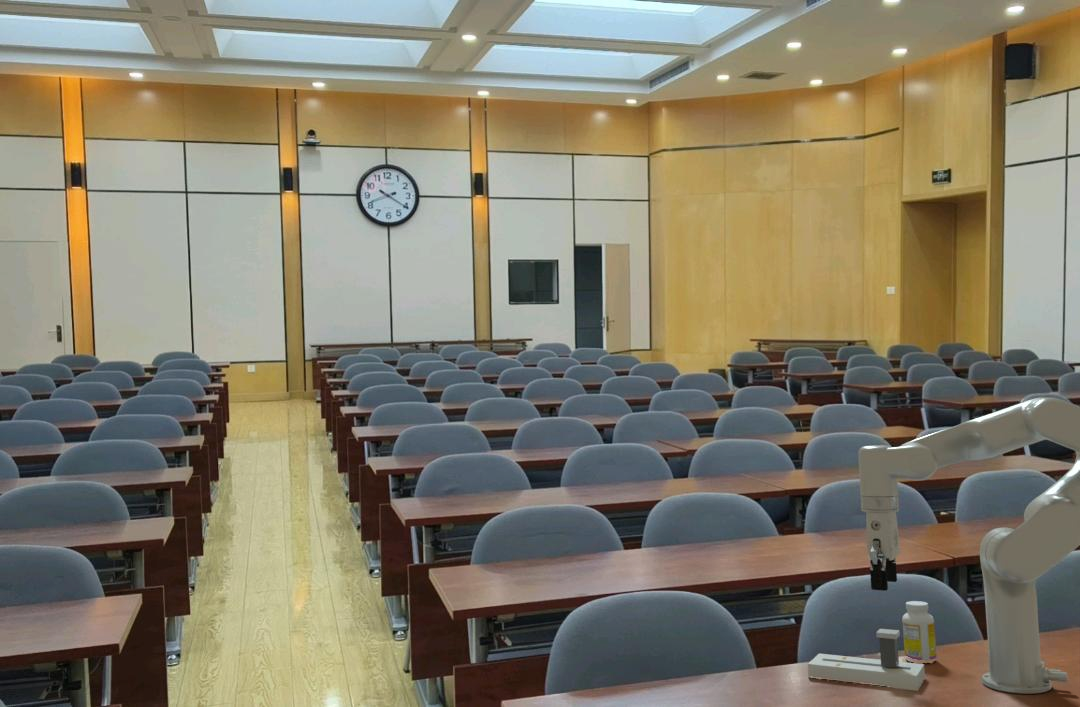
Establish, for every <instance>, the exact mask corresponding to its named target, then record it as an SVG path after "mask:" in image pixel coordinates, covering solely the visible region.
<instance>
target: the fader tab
mask: <svg viewBox="0 0 1080 707" xmlns="http://www.w3.org/2000/svg"><path fill="white" fill-rule="evenodd" d="M900 634H901V632H900V630H899V629H888V628H887V629H886V628H879V629H878V630H877V631H876V634H875V635H876V638H879V652H880V660H881V666H883V667H892V668H896V667H897V666H898V665H899V662H900V660H899V659H900V658H899V645H898V643H899V642H898V638H900V636H901V635H900Z"/></svg>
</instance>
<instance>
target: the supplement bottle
mask: <svg viewBox="0 0 1080 707" xmlns="http://www.w3.org/2000/svg"><path fill="white" fill-rule="evenodd" d="M905 609H906V610H907V611H906V612H905V613H904V614H903V616H902V620H901V622H902V632H903V634H902V635H903V647H904V649H903V650H904V656H905V655H906V656H908V657H910V658H912V659H917V660H926V661H928V660H934V659H936V658H937V656H938V654H937V645H936V644H937V642H936V641H937V640H936V632H935V631H936V630H935V619H934V617H933V615H931V614H930V613H929V611H928V610H929V603H928V602H926V601H920V600H919V601H918V600H911V601H907V602H905ZM937 659H938V658H937Z"/></svg>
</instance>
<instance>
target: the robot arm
mask: <svg viewBox="0 0 1080 707" xmlns="http://www.w3.org/2000/svg"><path fill="white" fill-rule="evenodd" d="M1045 440H1047V441H1049V442H1052V443H1055V444H1057V445H1060V446H1063V447H1064V448H1067V449H1070V450H1073V451H1074V452H1075V454H1076V457H1075V461H1074V463H1073V465H1072V466H1071V468H1070V469H1069V470H1068V471H1067V472H1066V473H1065V474H1063V476H1062V477H1060V478H1059V479H1058V480H1057V481H1056V482H1055V483H1054V484H1052V485H1051V486H1050V487H1049V488H1048V489H1046V490H1045V491H1044V492H1042V493H1041V494H1040V495H1038V496H1037V497H1035V498H1034V499H1033V500H1032V501H1030V503H1029V504H1028V505H1027V506H1026V508H1025V510H1024V513H1023V520H1024V521H1023V522H1022V523H1021V524H1020V525H1019V526H1017V527H1016V528H1015V529H1014V528H1012V527H1006V526H1004V527H997V528H993V529H991V530H990V531H988V532H987V533H986V534H985V535H984V536H983V538H982V539H981V543H980V546H979V560H980V567H981V572H982V574H981V575H982V580H983V589H984V604H985V619H986V633H987V635H986V636H987V646H988V648H987V649H988V650H987V651H988V662H989V671H988V672H986V673H984V674H983V675H982V676H981V682H982V683H983V685H984V686H986V687H988V688H991V689H992V690H993V689H994V690H996V691H1001V692H1006V693H1013V694H1021V695H1022V694H1023V695H1025V694H1026V695H1032V694H1034V695H1035V694H1043V693H1046V692H1048V691H1050V690H1051V689H1052V681H1053V682H1057V683H1058V682H1059V683H1068V682H1069V680H1068V678H1069V677H1068V672H1064V671H1062V670H1060V669H1049V668H1048V667H1047V666H1045V662H1044V661H1043V660H1042V659H1041V658H1042V657H1041V655H1042V654H1041V644H1040V643H1041V642H1040V641H1041V640H1040V629H1039V628H1040V627H1039V613H1038V598H1037V588H1036V581H1035V580H1037V579H1039V578H1040V577H1041V576H1043V575H1044V574H1046V573H1047V572H1048V571H1049V570H1051V569H1052V568H1053V567H1055V566H1056V565H1058V563H1060V562H1061V561H1062V560H1063V559H1065V558H1066V557H1067V556H1069V554H1071V553H1072V552H1074V551H1075V550H1076V549H1077V548H1078V547H1079V546H1080V405H1077V404H1074V403H1073V402H1072V403H1071V402H1069V401H1066V400H1065V399H1061V398H1057V397H1036V398H1032V399H1029V400H1025V401H1023V402H1020V403H1016V404H1014V405H1011V406H1009V407H1005V408H1002V409H1000V410H997V411H994V412H992V413H988V414H985V415H982V416H980V417H976V418H974V419H970V420H966V421H965V422H962V423H959V424H957V425H954V426H951V427H948V428H945V429H942V430H939V431H936V432H933V433H931V434H927V435H924V436H922V437H919V438H915V439H913V440H910V441H907V442H905V443H903V444H901V445H900V446H893V447H892V446H891V445H883V444H879V445H878V444H877V445H876V444H874V445H872V444H871V445H863V446H861V447H860V448H859V450H858V456H857V457H858V471H859V488H860V492H859V494H860V508H861V510H860V511H862V512H864V513H866V515H865V516H866V519H865V520H866V521H865V523H866V527H865V529H866V547H867V548H866V549H867V557H868V558H869V559H870V564H869V566H870V567H869V569H870V570H869V571H870V586H871V587H870V589H871V590H873V591H883V592H885V591H887V590H888V588H889V586H888V582H890V583H896V582H897V581H898V576H897V575H898V573H897V562H896V557H898V556H899V555H900V554H901V547H900V538H899V536H900V535H899V526H898V519H897V518H898V517H897V513H899V511H900V507H899V506H900V505H899V488H898V480H910V481H925V480H927V479H929V478H931V477H932V476H933V475H934V474H935V473H936V471H937V469H940V468H943V467H947V466H950V465H953V464H958V463H962V462H967V461H968V462H969V461H980V460H981V461H982V460H986V459H991V458H994V457H995V458H996V457H998V456H1000V455H1004V454H1006V453H1009V452H1012V451H1014V450H1018V449H1021V448H1023V447H1024V448H1025V447H1027V446H1030V445H1034V444H1036V443H1039V442H1042V441H1045Z"/></svg>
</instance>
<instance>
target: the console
mask: <svg viewBox="0 0 1080 707" xmlns="http://www.w3.org/2000/svg"><path fill="white" fill-rule="evenodd" d="M807 671H808V677H809V676H813V677H821V678H829V679H838V680H845V681H855V682H864V683H872V684H878V685H884V686H890V687H894V688H893V689H899V690H906V691H907V690H909V691H914V692H915V691H917V692H918V691H919V690H920V688H921V686H922V685H923V683H924V681H925V680H924V678H925V679H926V674H925V673H926V672H925V671H926V670H925V664H917V663H911V662H908V661H907V662H905V661H899V665H898V666H897V667H896V668H892V667H883V666H881V659H878V658H877V659H876V658H866V657H855V656H849V655H847V656H845V655H839V654H838V655H837V654H828V653H818V654H817V655H815V657H814V658H812V659H811V660H810V661H809V662H808V663H807ZM923 680H924V681H923ZM921 684H922V685H921Z"/></svg>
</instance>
